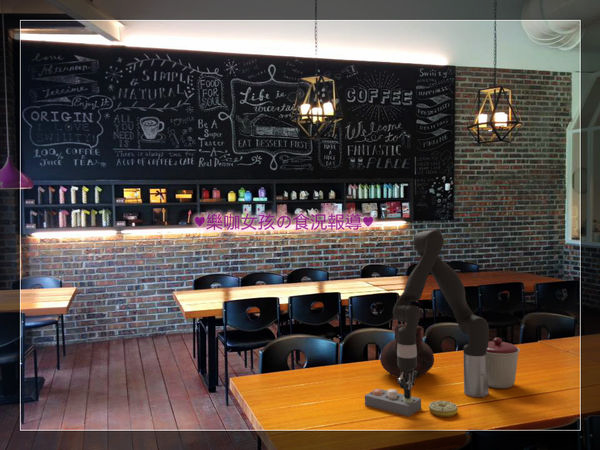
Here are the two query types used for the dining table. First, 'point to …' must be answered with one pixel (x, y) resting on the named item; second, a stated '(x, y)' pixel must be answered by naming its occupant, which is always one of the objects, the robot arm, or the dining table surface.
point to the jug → (423, 355)
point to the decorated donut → (443, 408)
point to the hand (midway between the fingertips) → (407, 398)
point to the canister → (501, 363)
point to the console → (393, 403)
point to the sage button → (408, 400)
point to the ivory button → (392, 394)
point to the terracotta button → (377, 392)
